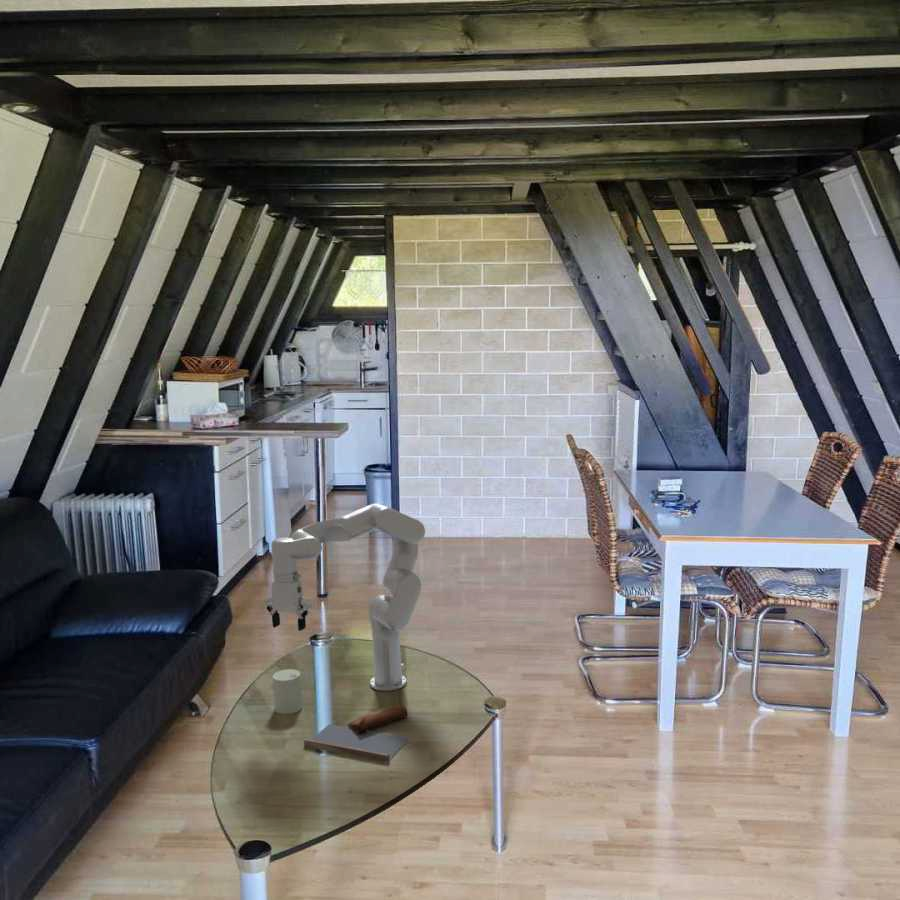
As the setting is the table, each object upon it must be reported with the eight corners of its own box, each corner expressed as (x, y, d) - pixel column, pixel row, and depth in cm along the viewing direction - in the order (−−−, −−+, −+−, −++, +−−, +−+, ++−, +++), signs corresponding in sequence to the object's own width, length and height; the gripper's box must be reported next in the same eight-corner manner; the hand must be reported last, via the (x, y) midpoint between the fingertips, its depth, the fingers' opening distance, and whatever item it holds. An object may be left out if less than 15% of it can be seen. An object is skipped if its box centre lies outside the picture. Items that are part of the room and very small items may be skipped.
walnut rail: (306, 744, 248) (306, 738, 248) (389, 760, 237) (389, 753, 237) (304, 746, 247) (303, 740, 246) (387, 762, 236) (387, 755, 236)
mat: (329, 724, 260) (329, 724, 260) (409, 739, 249) (409, 738, 249) (306, 744, 248) (306, 743, 248) (389, 760, 237) (389, 759, 237)
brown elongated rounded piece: (392, 707, 268) (398, 694, 265) (404, 724, 264) (409, 711, 261) (345, 725, 257) (350, 711, 254) (356, 743, 253) (361, 729, 250)
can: (294, 715, 267) (291, 680, 265) (269, 712, 270) (266, 677, 268) (308, 703, 275) (305, 669, 274) (283, 700, 278) (281, 666, 276)
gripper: (315, 575, 264) (318, 626, 266) (269, 571, 270) (273, 621, 273) (302, 582, 257) (305, 634, 259) (256, 577, 264) (260, 628, 266)
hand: (289, 627), depth 266 cm, fingers open, 9 cm apart
